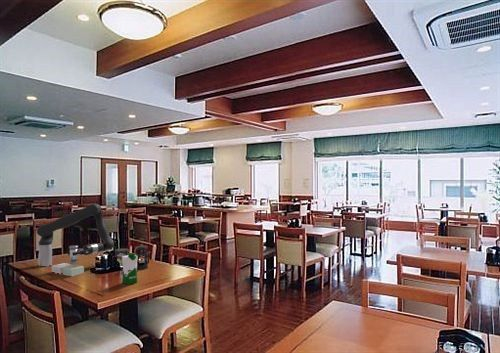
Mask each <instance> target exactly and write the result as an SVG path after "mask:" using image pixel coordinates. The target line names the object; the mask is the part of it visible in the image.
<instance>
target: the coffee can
mask: <svg viewBox="0 0 500 353" xmlns="http://www.w3.org/2000/svg"><path fill="white" fill-rule="evenodd" d="M129 250H130V249H129V248H127V247H126V248H123V247H122V248H115V249H114V258H115V257H116V258H117V261H118V262H119V263H120V264H121V265H122V266H123V262H122V256H127V255H128V254H129V252H130V251H129Z"/></svg>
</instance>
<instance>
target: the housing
mask: <svg viewBox="0 0 500 353" xmlns="http://www.w3.org/2000/svg"><path fill="white" fill-rule="evenodd" d="M68 249H69V252H70V255H69V261H68V262H69V263H68V264H73V265H74V264H78V263H79V260H78V255H74V256H73V255H72V253H73V252H77V249H79V245H69V247H68Z"/></svg>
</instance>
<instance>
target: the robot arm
mask: <svg viewBox="0 0 500 353" xmlns="http://www.w3.org/2000/svg"><path fill="white" fill-rule="evenodd" d="M92 216H93V217H94V219H95V222H96V230H97V234H98V236H99V239H100V240H101V241H104V242H97V243H90V244H85V245H83V246H82V248H77V252H73V253H72V255H73V256H74V255H77V256H82V255H84V256H89V255H93V254H96V253H100V252H106V251H110V250H113V248H114V247H115V242H114V240H113V239H112V237H111V236H110V234H109V232H108V229H107V226H106V224H105V219H104V215H103V210H102V206H101V205H100V204H98V203H91V204H89V205H87V206H85V207H84V208H81V209H80V210H79V209H78V210H76V211H74V212H70V213H68V214H65V215H64V216H61V217H59V218H57V219H56V220H54V221H52V222H49V223H46V224H45V223H44V224H41V225H39V226H38V227H37V228H36V234H37V236H38V237H40V240H39V241H38V254H37V255H38V257H37V258H38V265H39V266H38V267H40V266H46V267H49V265H51V266H53V240H54V232H56V231H59V230H61V229H62V230H63V229H65V228H67V227H71V226H73V225H76V224H77V223H79V222H80V221H81V220H83V219H86V218H88V217H92ZM67 256H70V251H67Z"/></svg>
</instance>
